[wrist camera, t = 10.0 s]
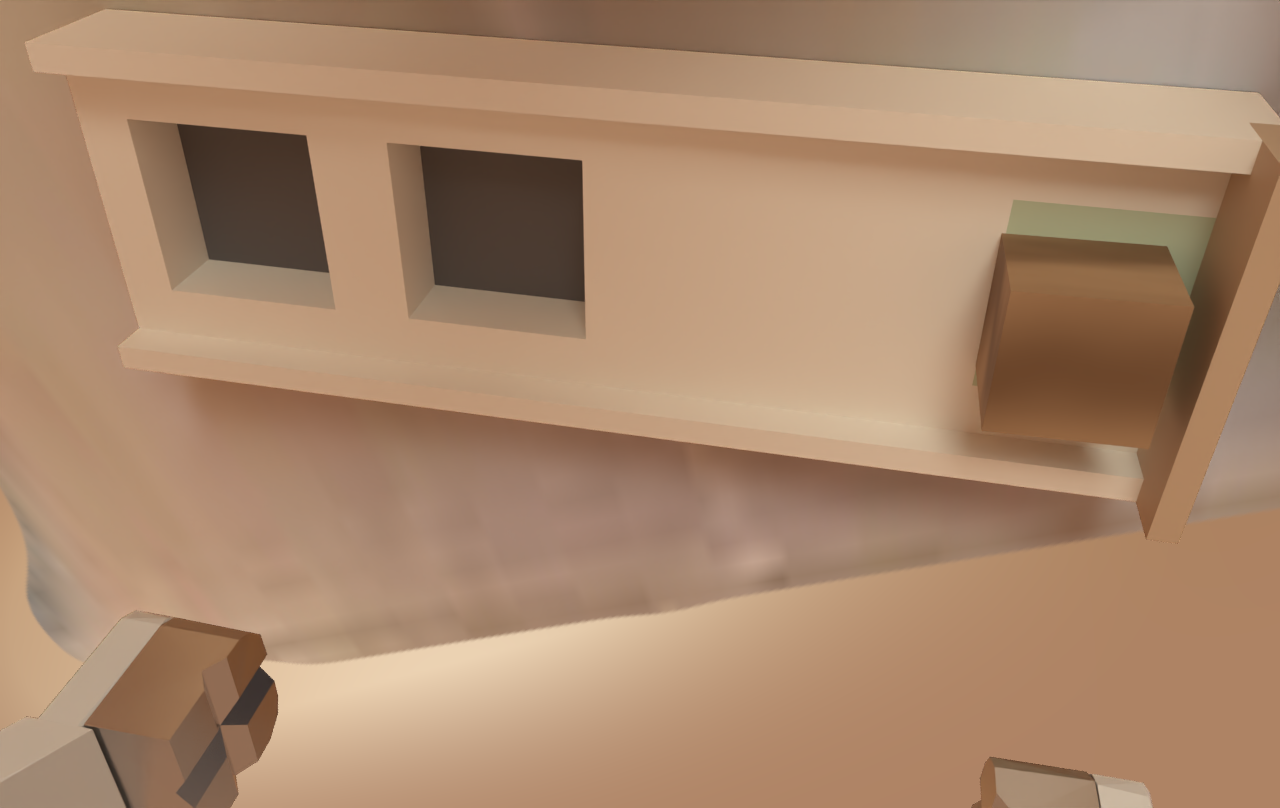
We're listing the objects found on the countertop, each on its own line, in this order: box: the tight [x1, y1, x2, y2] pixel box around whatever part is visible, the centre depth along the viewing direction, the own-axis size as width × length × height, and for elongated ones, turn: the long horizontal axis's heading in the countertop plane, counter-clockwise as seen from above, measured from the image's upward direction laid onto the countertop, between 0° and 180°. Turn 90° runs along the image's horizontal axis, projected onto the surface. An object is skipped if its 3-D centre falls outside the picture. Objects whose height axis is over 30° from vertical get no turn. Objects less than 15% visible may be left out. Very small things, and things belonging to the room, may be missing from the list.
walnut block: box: [976, 233, 1194, 449], centre depth 34 cm, size 5×5×4 cm
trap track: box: [24, 9, 1280, 544], centre depth 38 cm, size 13×40×6 cm, turn 89°
